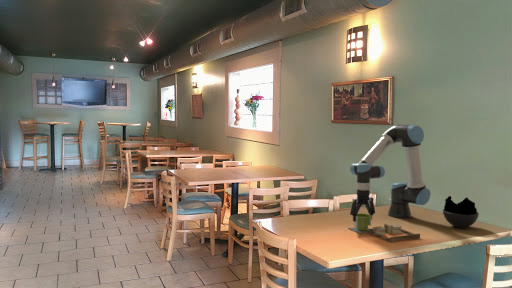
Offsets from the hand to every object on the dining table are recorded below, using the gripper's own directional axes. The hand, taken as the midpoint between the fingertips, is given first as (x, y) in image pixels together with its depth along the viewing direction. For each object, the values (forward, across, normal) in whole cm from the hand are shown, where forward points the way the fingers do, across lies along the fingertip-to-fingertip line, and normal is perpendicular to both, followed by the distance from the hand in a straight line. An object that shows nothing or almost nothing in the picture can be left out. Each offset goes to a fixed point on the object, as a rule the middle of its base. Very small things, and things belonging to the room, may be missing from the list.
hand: (362, 225), depth 245 cm
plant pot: (+2, 0, 0) cm, 2 cm away
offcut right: (+3, +16, -10) cm, 19 cm away
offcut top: (0, +10, -10) cm, 14 cm away
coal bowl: (+3, +62, -16) cm, 64 cm away
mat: (+3, 0, 0) cm, 3 cm away
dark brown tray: (+3, +10, -16) cm, 19 cm away
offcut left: (+3, +4, -10) cm, 11 cm away
